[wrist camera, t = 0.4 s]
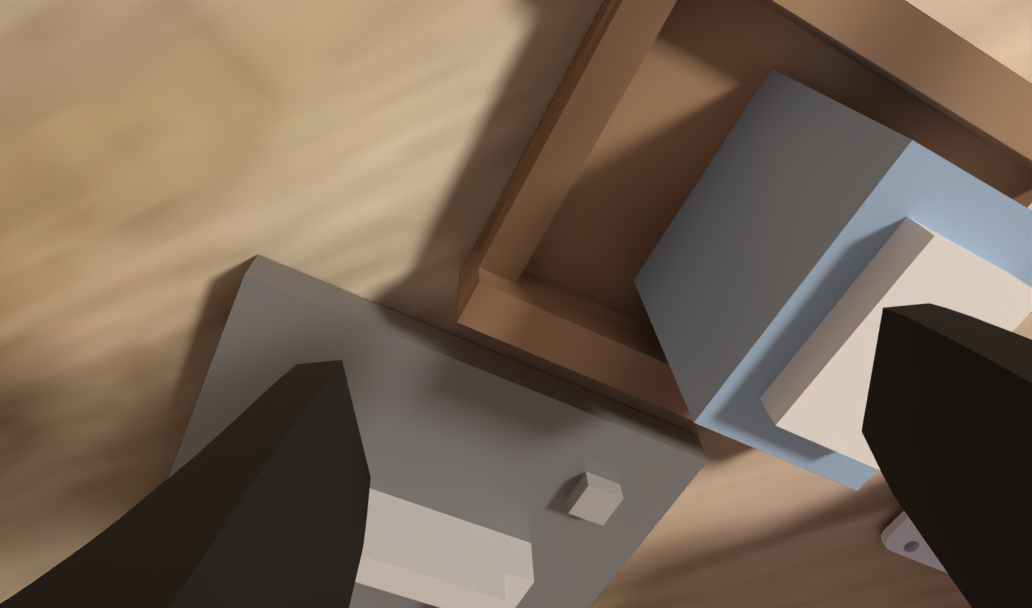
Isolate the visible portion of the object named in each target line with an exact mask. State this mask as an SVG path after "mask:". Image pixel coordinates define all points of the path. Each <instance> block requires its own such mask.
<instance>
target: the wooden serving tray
mask: <svg viewBox="0 0 1032 608" xmlns="http://www.w3.org/2000/svg"><path fill="white" fill-rule="evenodd" d="M771 69H774V70H776V71H778V72H780V73H782V74H784V75H786V76H788V77H790V78H792V79H794V80H795V81H797V82H799V83H801V84H803V85H805V86H807V87H809V88H811V89H813V90H815V91H817V92H819V93H821V94H823V95H825V96H827V97H829V98H831V99H833V100H835V101H837V102H839V103H841V104H843V105H845V106H847V107H849V108H851V109H852V110H854V111H856V112H858V113H860V114H862V115H864V116H866V117H868V118H870V119H872V120H874V121H876V122H878V123H880V124H882V125H884V126H886V127H888V128H890V129H892V130H894V131H896V132H898V133H900V134H902V135H904V136H906V137H908V138H909V139H911V140H913V141H915V142H917V143H918V144H920V145H922V146H923V147H925V148H927V149H928V150H930V151H932V152H933V153H935V154H937V155H939V156H940V157H942V158H944V159H945V160H947V161H949V162H950V163H952V164H954V165H955V166H957V167H959V168H960V169H962V170H964V171H966V172H967V173H969V174H971V175H972V176H974V177H976V178H977V179H979V180H981V181H982V182H984V183H986V184H987V185H989V186H991V187H992V188H994V189H996V190H998V191H999V192H1001V193H1003V194H1004V195H1006V196H1008V197H1009V198H1011V199H1013V200H1014V201H1016V202H1018V203H1019V204H1021V205H1023V206H1025V207H1026V208H1027V207H1028V206H1029V205H1030V204H1031V203H1032V83H1030V82H1029V81H1027V80H1026V79H1024V78H1022V77H1021V76H1019V75H1018V74H1016V73H1015V72H1013V71H1012V70H1010V69H1009V68H1007V67H1006V66H1004V65H1003V64H1001V63H1000V62H998V61H997V60H995V59H994V58H992V57H991V56H989V55H987V54H986V53H984V52H983V51H981V50H980V49H978V48H977V47H975V46H974V45H972V44H971V43H969V42H968V41H966V40H965V39H963V38H962V37H960V36H959V35H957V34H956V33H954V32H952V31H951V30H949V29H948V28H946V27H945V26H943V25H942V24H940V23H939V22H937V21H936V20H934V19H933V18H931V17H930V16H928V15H927V14H925V13H924V12H922V11H921V10H919V9H917V8H916V7H914V6H913V5H911V4H910V3H908V2H907V1H905V0H604V2H603V4H602V6H601V8H600V10H599V12H598V13H597V15H596V17H595V19H594V21H593V23H592V25H591V27H590V29H589V30H588V32H587V34H586V36H585V38H584V40H583V42H582V44H581V46H580V48H579V49H578V51H577V53H576V55H575V57H574V59H573V61H572V63H571V65H570V67H569V68H568V70H567V72H566V74H565V76H564V78H563V80H562V82H561V84H560V85H559V87H558V89H557V91H556V93H555V95H554V97H553V99H552V101H551V103H550V104H549V106H548V108H547V110H546V112H545V114H544V116H543V118H542V120H541V122H540V123H539V125H538V127H537V129H536V131H535V133H534V135H533V137H532V139H531V140H530V142H529V144H528V146H527V148H526V150H525V152H524V154H523V156H522V158H521V159H520V161H519V163H518V165H517V167H516V169H515V171H514V173H513V175H512V177H511V178H510V180H509V182H508V184H507V186H506V188H505V190H504V192H503V194H502V195H501V197H500V199H499V201H498V203H497V205H496V207H495V209H494V211H493V213H492V214H491V216H490V218H489V220H488V222H487V224H486V226H485V228H484V230H483V232H482V233H481V235H480V237H479V239H478V241H477V243H476V245H475V247H474V249H473V250H472V252H471V254H470V256H469V258H468V260H467V262H466V264H465V266H464V268H463V269H462V271H461V273H460V280H459V296H458V313H457V323H460V324H462V325H464V326H467V327H469V328H472V329H474V330H476V331H479V332H481V333H484V334H486V335H488V336H491V337H493V338H496V339H498V340H500V341H503V342H505V343H508V344H510V345H512V346H515V347H517V348H520V349H522V350H524V351H527V352H529V353H532V354H534V355H536V356H539V357H541V358H544V359H546V360H548V361H551V362H553V363H556V364H558V365H560V366H563V367H565V368H568V369H570V370H572V371H575V372H577V373H580V374H582V375H584V376H587V377H589V378H592V379H594V380H596V381H599V382H601V383H604V384H606V385H608V386H611V387H613V388H616V389H618V390H620V391H623V392H625V393H628V394H630V395H632V396H635V397H637V398H640V399H642V400H644V401H647V402H649V403H652V404H654V405H656V406H659V407H661V408H664V409H666V410H668V411H671V412H673V413H676V414H678V415H680V416H683V417H685V418H688V419H690V420H692V417H691V415H690V413H689V410H688V408H687V406H686V403H685V401H684V398H683V396H682V394H681V391H680V389H679V387H678V384H677V382H676V380H675V377H674V375H673V373H672V370H671V368H670V365H669V363H668V361H667V358H666V356H665V354H664V351H663V349H662V347H661V344H660V342H659V340H658V337H657V335H656V332H655V330H654V328H653V325H652V323H651V321H650V318H649V316H648V314H647V311H646V309H645V307H644V304H643V302H642V299H641V297H640V295H639V292H638V290H637V288H636V285H635V283H634V281H633V280H634V279H635V277H636V276H637V274H638V273H639V271H640V270H641V268H642V267H643V265H644V264H645V262H646V260H647V259H648V257H649V256H650V254H651V253H652V251H653V250H654V248H655V247H656V245H657V244H658V242H659V241H660V239H661V237H662V236H663V234H664V233H665V231H666V230H667V228H668V227H669V225H670V224H671V222H672V221H673V219H674V218H675V216H676V214H677V213H678V211H679V210H680V208H681V207H682V205H683V204H684V202H685V201H686V199H687V198H688V196H689V195H690V193H691V191H692V190H693V188H694V187H695V185H696V184H697V182H698V181H699V179H700V178H701V176H702V175H703V173H704V172H705V170H706V168H707V167H708V165H709V164H710V162H711V161H712V159H713V158H714V156H715V155H716V153H717V152H718V150H719V149H720V147H721V145H722V144H723V142H724V141H725V139H726V138H727V136H728V135H729V133H730V132H731V130H732V129H733V127H734V126H735V124H736V122H737V121H738V119H739V118H740V116H741V115H742V113H743V112H744V110H745V109H746V107H747V106H748V104H749V103H750V101H751V99H752V98H753V96H754V95H755V93H756V92H757V90H758V89H759V87H760V86H761V84H762V83H763V81H764V80H765V78H766V76H767V75H768V73H769V72H770V70H771ZM692 421H693V420H692Z"/></svg>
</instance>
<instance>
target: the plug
mask: <svg viewBox="0 0 1032 608" xmlns="http://www.w3.org/2000/svg"><path fill="white" fill-rule="evenodd" d="M633 281H634V283H635V285H636V288H637V290H638V292H639V295H640V297H641V299H642V302H643V304H644V307H645V309H646V311H647V314H648V316H649V318H650V321H651V323H652V325H653V328H654V330H655V332H656V335H657V337H658V340H659V342H660V344H661V347H662V349H663V351H664V354H665V356H666V358H667V361H668V363H669V365H670V368H671V370H672V373H673V375H674V377H675V380H676V382H677V384H678V387H679V389H680V391H681V394H682V396H683V398H684V401H685V403H686V406H687V408H688V410H689V413H690V415H691V417H692V420H693V422H694V423H695V424H698V425H700V426H703V427H705V428H708V429H710V430H712V431H715V432H717V433H720V434H722V435H724V436H727V437H729V438H732V439H734V440H736V441H739V442H741V443H744V444H746V445H748V446H751V447H753V448H756V449H758V450H760V451H763V452H765V453H768V454H770V455H772V456H775V457H777V458H780V459H782V460H784V461H787V462H789V463H792V464H794V465H796V466H799V467H801V468H804V469H806V470H808V471H811V472H813V473H816V474H818V475H820V476H823V477H825V478H828V479H830V480H832V481H835V482H837V483H840V484H842V485H845V486H847V487H849V488H852V489H854V490H857V491H858V489H859V488H860V487H861V486H862V485H863V484H864V483H865V482H866V481H867V480H868V479H869V478H870V477H871V476H872V475H873V474H874V473H875V472H876V471H877V470H880V468H879V466H878V464H877V462H876V460H875V458H874V456H873V454H872V452H871V450H870V448H869V446H868V444H867V442H866V440H865V438H864V435H863V433H862V425H863V419H864V413H865V408H866V402H867V396H868V390H869V385H870V379H871V373H872V367H873V362H874V356H875V350H876V344H877V339H878V333H879V327H880V321H881V316H882V310H883V308H884V307H895V306H905V305H915V304H926V303H931V304H934V305H938V306H941V307H945V308H948V309H951V310H954V311H957V312H960V313H963V314H966V315H969V316H972V317H974V318H977V319H980V320H982V321H985V322H988V323H990V324H993V325H995V326H998V327H1001V328H1003V329H1006V330H1008V331H1011V332H1012V331H1013V330H1014V329H1015V328H1016V327H1017V326H1018V325H1019V324H1020V323H1021V322H1022V321H1023V320H1024V318H1025V317H1026V316H1027V315H1028V314H1029V313H1030V312H1031V311H1032V211H1031V210H1030V209H1028V208H1026V207H1025V206H1023V205H1021V204H1019V203H1018V202H1016V201H1014V200H1013V199H1011V198H1009V197H1008V196H1006V195H1004V194H1003V193H1001V192H999V191H998V190H996V189H994V188H992V187H991V186H989V185H987V184H986V183H984V182H982V181H981V180H979V179H977V178H976V177H974V176H972V175H971V174H969V173H967V172H966V171H964V170H962V169H960V168H959V167H957V166H955V165H954V164H952V163H950V162H949V161H947V160H945V159H944V158H942V157H940V156H939V155H937V154H935V153H933V152H932V151H930V150H928V149H927V148H925V147H923V146H922V145H920V144H918V143H917V142H915V141H913V140H911V139H909V138H908V137H906V136H904V135H902V134H900V133H898V132H896V131H894V130H892V129H890V128H888V127H886V126H884V125H882V124H880V123H878V122H876V121H874V120H872V119H870V118H868V117H866V116H864V115H862V114H860V113H858V112H856V111H854V110H852V109H851V108H849V107H847V106H845V105H843V104H841V103H839V102H837V101H835V100H833V99H831V98H829V97H827V96H825V95H823V94H821V93H819V92H817V91H815V90H813V89H811V88H809V87H807V86H805V85H803V84H801V83H799V82H797V81H795V80H794V79H792V78H790V77H788V76H786V75H784V74H782V73H780V72H778V71H776V70H774V69H771V70H770V72H769V73H768V75H767V76H766V78H765V80H764V81H763V83H762V84H761V86H760V87H759V89H758V90H757V92H756V93H755V95H754V96H753V98H752V99H751V101H750V103H749V104H748V106H747V107H746V109H745V110H744V112H743V113H742V115H741V116H740V118H739V119H738V121H737V122H736V124H735V126H734V127H733V129H732V130H731V132H730V133H729V135H728V136H727V138H726V139H725V141H724V142H723V144H722V145H721V147H720V149H719V150H718V152H717V153H716V155H715V156H714V158H713V159H712V161H711V162H710V164H709V165H708V167H707V168H706V170H705V172H704V173H703V175H702V176H701V178H700V179H699V181H698V182H697V184H696V185H695V187H694V188H693V190H692V191H691V193H690V195H689V196H688V198H687V199H686V201H685V202H684V204H683V205H682V207H681V208H680V210H679V211H678V213H677V214H676V216H675V218H674V219H673V221H672V222H671V224H670V225H669V227H668V228H667V230H666V231H665V233H664V234H663V236H662V237H661V239H660V241H659V242H658V244H657V245H656V247H655V248H654V250H653V251H652V253H651V254H650V256H649V257H648V259H647V260H646V262H645V264H644V265H643V267H642V268H641V270H640V271H639V273H638V274H637V276H636V277H635V279H634V280H633Z"/></svg>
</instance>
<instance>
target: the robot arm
mask: <svg viewBox="0 0 1032 608" xmlns="http://www.w3.org/2000/svg"><path fill="white" fill-rule="evenodd" d="M862 433H863V435H864V438H865V440H866V442H867V444H868V446H869V448H870V450H871V452H872V454H873V456H874V458H875V460H876V462H877V464H878V466H879V468H880V470H881V472H882V474H883V476H884V478H885V480H886V481H887V483H888V485H889V487H890V489H891V491H892V493H893V495H894V496H895V498H896V499H897V501H898V502H899V504H900V505H901V507H902V508H903V510H904V511H903V512H902V513H901V514H900V515H899V516H898V517H897V518H896V519H895V520H894V521H893V522H892V523H891V524H890V525H889V526H888V527H886V528H885V530H884V531H883V532H882V534H881V540H882V542H883V544H884V545H885V547H886V549H888V550H889V551H892V552H894V553H897V554H899V555H902V556H904V557H907V558H909V559H912V560H914V561H917V562H919V563H922V564H925V565H927V566H930V567H932V568H935V569H937V570H940V571H942V572H945V573H947V574H949V576H950V577H951V578H952V580H953V581H954V583H955V584H956V586H957V587H958V588H959V590H960V591H961V593H962V594H963V595H964V597H965V598H966V600H967V601H968V603H969V604H970V605H971V607H972V608H1032V340H1031V339H1028V338H1026V337H1023V336H1021V335H1018V334H1016V333H1013V332H1011V331H1008V330H1006V329H1003V328H1001V327H998V326H995V325H993V324H990V323H988V322H985V321H982V320H980V319H977V318H974V317H972V316H969V315H966V314H963V313H960V312H957V311H954V310H951V309H948V308H945V307H941V306H938V305H934V304H931V303H926V304H915V305H905V306H895V307H884V308H883V310H882V316H881V321H880V327H879V333H878V339H877V344H876V350H875V356H874V362H873V367H872V373H871V379H870V385H869V390H868V396H867V402H866V408H865V413H864V419H863V425H862ZM370 481H371V476H370V472H369V468H368V464H367V460H366V456H365V452H364V448H363V444H362V440H361V436H360V431H359V427H358V423H357V419H356V415H355V411H354V407H353V403H352V399H351V395H350V391H349V387H348V382H347V378H346V374H345V370H344V366H343V362H342V360H335V361H325V362H315V363H304V364H297V365H295V366H294V367H293V368H292V369H290V370H289V371H288V372H287V373H285V374H284V375H283V376H282V377H281V378H280V379H279V380H277V381H276V382H275V383H274V384H273V385H272V386H271V387H270V388H269V389H268V390H266V391H265V392H264V393H263V394H262V395H261V396H260V397H259V398H258V399H257V400H256V401H255V402H254V403H252V404H251V405H250V406H249V407H248V408H247V409H246V410H245V411H244V412H243V413H242V414H241V415H240V416H238V417H237V418H236V419H235V420H234V421H233V422H232V423H231V424H230V425H229V426H227V427H226V428H225V429H224V430H223V431H222V432H221V433H220V434H219V435H218V436H216V437H215V438H214V439H213V440H212V441H211V442H210V443H209V444H208V445H207V446H205V447H204V448H203V449H202V450H201V451H200V452H199V453H198V454H197V455H196V456H194V457H193V458H192V459H191V460H190V461H189V462H187V463H186V464H185V465H184V466H183V467H181V468H180V469H179V470H178V471H177V472H175V473H174V474H173V475H172V476H171V477H169V478H168V479H167V480H166V481H165V482H163V483H162V484H161V485H160V486H159V487H157V488H156V489H155V490H154V491H153V492H151V493H150V494H149V495H148V496H147V497H146V498H144V499H143V500H142V501H141V502H140V503H138V504H137V505H136V506H135V507H134V508H132V509H131V510H130V511H129V512H128V513H126V514H125V515H124V516H123V517H121V518H120V519H119V520H117V521H116V522H115V523H114V524H112V525H111V526H110V527H108V528H107V529H106V530H105V531H103V532H102V533H101V534H99V535H98V536H97V537H95V538H94V539H93V540H91V541H90V542H89V543H87V544H86V545H85V546H83V547H82V548H80V549H79V550H78V551H76V552H75V553H73V554H72V555H71V556H69V557H68V558H66V559H65V560H64V561H62V562H61V563H59V564H58V565H57V566H55V567H54V568H52V569H51V570H50V571H48V572H47V573H45V574H44V575H43V576H41V577H40V578H38V579H37V580H35V581H34V582H33V583H31V584H30V585H28V586H27V587H25V588H24V589H22V590H21V591H19V592H18V593H16V594H15V595H13V596H12V597H10V598H9V599H7V600H5V601H4V602H2V603H1V604H0V608H349V606H350V602H351V598H352V593H353V589H354V585H355V581H356V576H357V572H358V568H359V564H360V559H361V555H362V550H363V546H364V538H365V530H366V521H367V512H368V502H369V491H370Z"/></svg>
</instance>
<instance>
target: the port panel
mask: <svg viewBox="0 0 1032 608" xmlns="http://www.w3.org/2000/svg"><path fill="white" fill-rule="evenodd" d="M335 360H342V362H343V366H344V370H345V374H346V378H347V382H348V387H349V391H350V395H351V399H352V403H353V407H354V411H355V415H356V419H357V423H358V427H359V431H360V436H361V440H362V444H363V448H364V452H365V456H366V460H367V464H368V468H369V472H370V476H371V481H370V491H369V502H368V512H367V521H366V530H365V538H364V546H363V550H362V555H361V559H360V564H359V568H358V572H357V576H356V581H355V585H354V589H353V593H352V598H351V602H350V606H349V608H589V607H590V606H591V605H592V603H593V602H594V601H595V600H596V599H597V597H598V596H599V595H600V594H601V592H602V591H603V590H604V589H605V587H606V586H607V585H608V584H609V582H610V581H611V580H612V579H613V577H614V576H615V575H616V574H617V573H618V571H619V570H620V569H621V568H622V566H623V565H624V564H625V563H626V561H627V560H628V559H629V558H630V556H631V555H632V554H633V553H634V551H635V550H636V549H637V548H638V547H639V545H640V544H641V543H642V542H643V540H644V539H645V538H646V537H647V535H648V534H649V533H650V532H651V530H652V529H653V528H654V527H655V525H656V524H657V523H658V522H659V521H660V519H661V518H662V517H663V516H664V514H665V513H666V512H667V511H668V509H669V508H670V507H671V506H672V504H673V503H674V502H675V501H676V499H677V498H678V497H679V496H680V495H681V493H682V492H683V491H684V490H685V488H686V487H687V486H688V485H689V483H690V482H691V481H692V480H693V478H694V477H695V476H696V475H697V473H698V472H699V471H700V470H701V469H702V467H703V466H704V465H705V464H706V462H707V458H706V456H705V453H704V451H703V449H702V446H701V444H700V441H699V439H698V437H697V435H695V434H693V433H690V432H688V431H685V430H683V429H681V428H678V427H676V426H673V425H671V424H668V423H666V422H664V421H661V420H659V419H656V418H654V417H651V416H649V415H647V414H644V413H642V412H639V411H637V410H634V409H632V408H629V407H627V406H625V405H622V404H620V403H617V402H615V401H612V400H610V399H608V398H605V397H603V396H600V395H598V394H595V393H593V392H591V391H588V390H586V389H583V388H581V387H578V386H576V385H574V384H571V383H569V382H566V381H564V380H561V379H559V378H557V377H554V376H552V375H549V374H547V373H544V372H542V371H540V370H537V369H535V368H532V367H530V366H527V365H525V364H522V363H520V362H518V361H515V360H513V359H510V358H508V357H505V356H503V355H501V354H498V353H496V352H493V351H491V350H488V349H486V348H484V347H481V346H479V345H476V344H474V343H471V342H469V341H467V340H464V339H462V338H459V337H457V336H454V335H452V334H450V333H447V332H445V331H442V330H440V329H437V328H435V327H433V326H430V325H428V324H425V323H423V322H420V321H418V320H415V319H413V318H411V317H408V316H406V315H403V314H401V313H398V312H396V311H394V310H391V309H389V308H386V307H384V306H381V305H379V304H377V303H374V302H372V301H369V300H367V299H364V298H362V297H360V296H357V295H355V294H352V293H350V292H347V291H345V290H343V289H340V288H338V287H335V286H333V285H330V284H328V283H326V282H323V281H321V280H318V279H316V278H313V277H311V276H309V275H306V274H304V273H301V272H299V271H296V270H294V269H291V268H289V267H287V266H284V265H282V264H279V263H277V262H274V261H272V260H270V259H267V258H265V257H262V256H260V255H257V257H256V258H255V260H254V261H253V263H252V264H251V266H250V267H249V269H248V270H247V272H246V273H245V275H244V277H243V280H242V282H241V285H240V288H239V290H238V293H237V296H236V298H235V301H234V304H233V306H232V309H231V312H230V314H229V317H228V320H227V322H226V325H225V328H224V330H223V333H222V336H221V338H220V341H219V344H218V346H217V349H216V352H215V354H214V357H213V360H212V362H211V365H210V368H209V370H208V373H207V376H206V378H205V381H204V384H203V386H202V389H201V392H200V394H199V397H198V399H197V402H196V405H195V407H194V410H193V413H192V415H191V418H190V421H189V423H188V426H187V429H186V431H185V434H184V437H183V439H182V442H181V445H180V447H179V450H178V453H177V455H176V458H175V461H174V463H173V466H172V469H171V471H170V474H169V477H171V476H172V475H173V474H174V473H175V472H177V471H178V470H179V469H180V468H181V467H183V466H184V465H185V464H186V463H187V462H189V461H190V460H191V459H192V458H193V457H194V456H196V455H197V454H198V453H199V452H200V451H201V450H202V449H203V448H204V447H205V446H207V445H208V444H209V443H210V442H211V441H212V440H213V439H214V438H215V437H216V436H218V435H219V434H220V433H221V432H222V431H223V430H224V429H225V428H226V427H227V426H229V425H230V424H231V423H232V422H233V421H234V420H235V419H236V418H237V417H238V416H240V415H241V414H242V413H243V412H244V411H245V410H246V409H247V408H248V407H249V406H250V405H251V404H252V403H254V402H255V401H256V400H257V399H258V398H259V397H260V396H261V395H262V394H263V393H264V392H265V391H266V390H268V389H269V388H270V387H271V386H272V385H273V384H274V383H275V382H276V381H277V380H279V379H280V378H281V377H282V376H283V375H284V374H285V373H287V372H288V371H289V370H290V369H292V368H293V367H294V366H295V365H297V364H304V363H315V362H325V361H335ZM169 477H168V478H169Z"/></svg>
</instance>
